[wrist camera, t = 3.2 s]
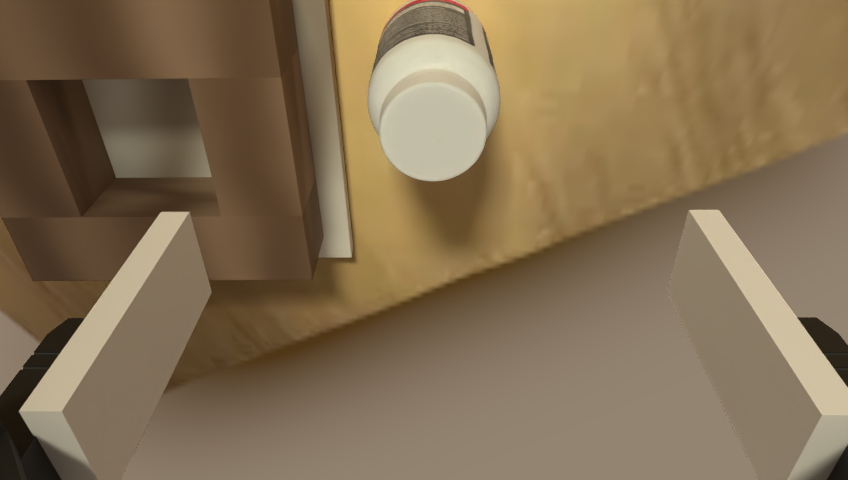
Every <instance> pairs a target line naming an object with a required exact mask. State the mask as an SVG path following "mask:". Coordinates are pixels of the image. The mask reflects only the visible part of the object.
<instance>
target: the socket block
mask: <svg viewBox="0 0 848 480" xmlns="http://www.w3.org/2000/svg"><path fill="white" fill-rule="evenodd" d="M161 212H190V215H191V219H192V223H193V226H194V230H195V233H196V237H197V241H198V244H199V248H200V252H201V255H202V259H203V262H204V266H205V270H206V273H207V277H208V280H312V279H313V275H314V271H315V268H316V264H317V260H318V258H331V257H352V252H353V239H352V230H351V220H350V210H349V200H348V190H347V180H346V171H345V161H344V151H343V141H342V131H341V121H340V112H339V102H338V92H337V82H336V72H335V63H334V53H333V43H332V33H331V23H330V13H329V4H328V0H0V215H1V217H2V219H3V221H4V223H5V225H6V227H7V229H8V231H9V233H10V235H11V238H12V240H13V242H14V244H15V246H16V248H17V250H18V252H19V254H20V256H21V258H22V260H23V262H24V264H25V266H26V268H27V270H28V272H29V274H30V276H31V278H32V280H33V281H96V280H113V278H114V277H115V276H116V274H117V273H118V271H119V270H120V269H121V267H122V266H123V264H124V263H125V262H126V260H127V259H128V257H129V256H130V255H131V253H132V252H133V250H134V249H135V248H136V246H137V245H138V243H139V242H140V241H141V239H142V238H143V236H144V235H145V234H146V232H147V231H148V229H149V228H150V227H151V225H152V224H153V222H154V221H155V220H156V218H157V217H158V215H159V214H160V213H161Z"/></svg>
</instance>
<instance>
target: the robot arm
mask: <svg viewBox="0 0 848 480" xmlns="http://www.w3.org/2000/svg"><path fill="white" fill-rule="evenodd" d="M211 293H212V291H211V288H210V284H209V281H208V277H207V273H206V270H205V266H204V262H203V259H202V255H201V252H200V248H199V244H198V241H197V237H196V233H195V230H194V226H193V223H192V219H191V215H190V212H161V213H160V214H159V215H158V217H157V218H156V220H155V221H154V222H153V224H152V225H151V227H150V228H149V229H148V231H147V232H146V234H145V235H144V236H143V238H142V239H141V241H140V242H139V243H138V245H137V246H136V248H135V249H134V250H133V252H132V253H131V255H130V256H129V257H128V259H127V260H126V262H125V263H124V264H123V266H122V267H121V269H120V270H119V271H118V273H117V274H116V276H115V277H114V278H113V280H112V281H111V283H110V284H109V285H108V287H107V288H106V290H105V291H104V292H103V294H102V295H101V297H100V298H99V299H98V301H97V302H96V304H95V305H94V306H93V308H92V309H91V311H90V312H89V313H88V315H87V316H86V318H68V319H67V320H66V321H64V322H63V323H62V324H60V325H59V326H58V327H56V328H55V329H54V330H52V331H51V332H50V333H48V334H47V336H46V337H45V338H44V340H43V341H42V342H41V343H40V345H39V346H38V348H37V349H36V350H35V351H34V355H32V356H31V357H30V358H29V359H28V360H27V362H26V363H25V364H24V366H23V370H20V371H19V372H18V374H17V375H16V376H15V377H14V379H13V380H12V381H11V383H10V384H9V385H8V387H7V388H6V389H5V391H4V392H3V393H2V394H1V396H0V480H121V479H122V477H123V475H124V473H125V471H126V469H127V467H128V464H129V462H130V460H131V458H132V456H133V454H134V452H135V450H136V448H137V446H138V444H139V442H140V440H141V438H142V436H143V434H144V431H145V429H146V427H147V425H148V423H149V421H150V419H151V417H152V415H153V413H154V411H155V409H156V407H157V405H158V402H159V400H160V398H161V396H162V394H163V392H164V390H165V388H166V386H167V384H168V382H169V380H170V378H171V376H172V374H173V371H174V369H175V367H176V365H177V363H178V361H179V359H180V357H181V355H182V353H183V351H184V349H185V347H186V345H187V342H188V340H189V338H190V336H191V334H192V332H193V330H194V328H195V326H196V324H197V322H198V320H199V318H200V316H201V313H202V311H203V309H204V307H205V305H206V303H207V301H208V299H209V297H210V295H211ZM667 294H668V296H669V298H670V300H671V302H672V304H673V306H674V308H675V310H676V312H677V314H678V316H679V319H680V321H681V323H682V325H683V327H684V329H685V331H686V333H687V335H688V337H689V339H690V341H691V343H692V345H693V347H694V349H695V351H696V353H697V355H698V357H699V359H700V361H701V364H702V366H703V368H704V370H705V372H706V374H707V376H708V378H709V380H710V382H711V384H712V386H713V388H714V390H715V392H716V394H717V397H718V399H719V401H720V403H721V405H722V407H723V409H724V411H725V413H726V415H727V417H728V419H729V421H730V423H731V425H732V427H733V429H734V431H735V433H736V435H737V437H738V440H739V441H740V444H741V446H742V447H743V450H744V452H745V454H746V456H747V458H748V460H749V462H750V464H751V466H752V468H753V470H754V472H755V474H756V477H757V478H758V480H848V345H847V344H846V343H845V341H844V340H843V339H842V338H841V336H840V335H839V334H838V333H837V332H835V331H834V330H833V329H831V328H830V327H829V326H827V325H826V324H824V323H823V322H822V321H820V320H819V319H818V318H797V317H796V316H795V314H794V313H793V312H792V310H791V309H790V308H789V306H788V305H787V303H786V302H785V301H784V299H783V298H782V296H781V295H780V294H779V292H778V291H777V289H776V288H775V287H774V285H773V284H772V283H771V281H770V280H769V279H768V277H767V276H766V275H765V273H764V272H763V270H762V269H761V267H760V266H759V265H758V263H757V262H756V261H755V259H754V258H753V257H752V255H751V254H750V252H749V251H748V250H747V248H746V247H745V245H744V244H743V243H742V242H741V240H740V239H739V237H738V236H737V234H736V233H735V232H734V230H733V229H732V228H731V226H730V225H729V224H728V222H727V221H726V219H725V218H724V217H723V215H722V214H721V212H720V211H719V210H689V212H688V216H687V219H686V223H685V226H684V230H683V234H682V238H681V241H680V245H679V248H678V252H677V256H676V259H675V263H674V267H673V270H672V275H671V278H670V282H669V285H668V289H667Z"/></svg>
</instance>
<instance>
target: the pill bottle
mask: <svg viewBox="0 0 848 480" xmlns="http://www.w3.org/2000/svg"><path fill="white" fill-rule="evenodd" d="M499 109H500V87H499V82H498V79H497V75H496V71H495V66H494V63H493V58H492V54H491V50H490V47H489V42H488V38H487V36H486V32H485V30H484V27H483V25H482V23H481V22H480V20H479V19H478V17H477V16H476V15H475V14H474V13H473V11H472V10H470V9H469V8H468V7H467V6H466V5H464V4H463V3H461V2H459V1H457V0H411V1H408V2H407V3H405V4H403V5H402V6H401V7H399V8H398V9H397V10H396V11H395V12H394V13H393V14H392V16H391V17H390V18H389V20H388V21H387V23H386V25H385V27H384V29H383V32H382V35H381V38H380V41H379V45H378V50H377V55H376V59H375V63H374V66H373V71H372V75H371V79H370V82H369V89H368V110H369V115H370V119H371V122H372V124H373V126H374V129H375V130H376V132H377V134H378V135H379V137H380V143H381V146H382V149H383V152H384V153H385V155H386V157H387V158H388V160H389V161H390V163H391V164H392V165H393V166H394V167H396V168H397V169H398V170H399V171H400V172H402V173H403V174H405V175H407V176H409V177H412V178H414V179H418V180H422V181H433V182H435V181H444V180H448V179H451V178H454V177H456V176H458V175H460V174H462V173H464V172H465V171H466V170H468V169H469V168H470V167H471V166H472V165H473V164H474V163H475V162H476V161H477V159H478V158H479V157H480V155H481V153H482V151H483V148H484V146H485V142H486V139H487V137H488V136H489V135H490V133H491V132H492V130H493V128H494V126H495V123H496V121H497V118H498V114H499Z"/></svg>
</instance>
